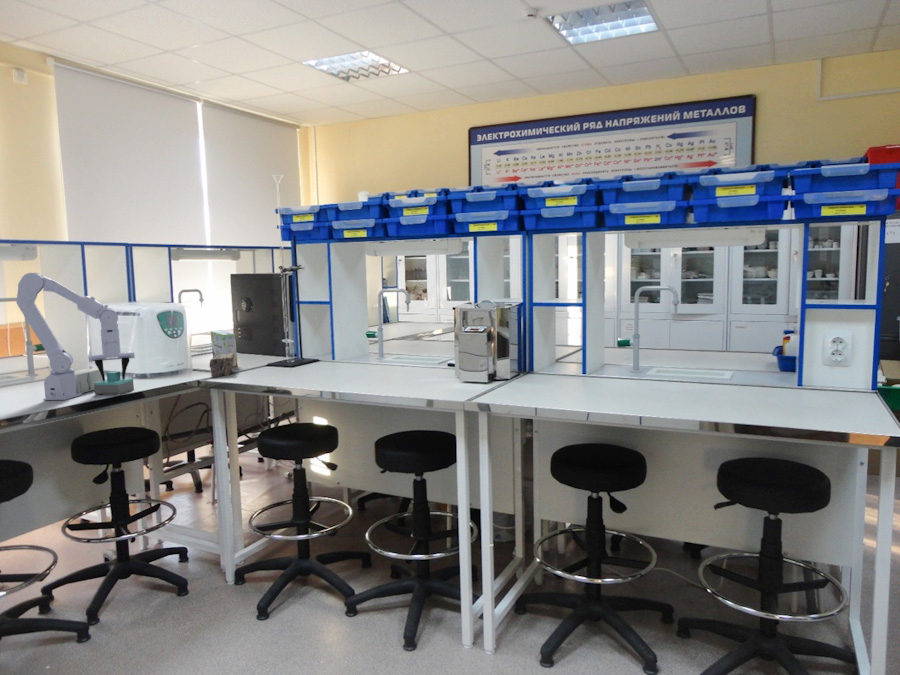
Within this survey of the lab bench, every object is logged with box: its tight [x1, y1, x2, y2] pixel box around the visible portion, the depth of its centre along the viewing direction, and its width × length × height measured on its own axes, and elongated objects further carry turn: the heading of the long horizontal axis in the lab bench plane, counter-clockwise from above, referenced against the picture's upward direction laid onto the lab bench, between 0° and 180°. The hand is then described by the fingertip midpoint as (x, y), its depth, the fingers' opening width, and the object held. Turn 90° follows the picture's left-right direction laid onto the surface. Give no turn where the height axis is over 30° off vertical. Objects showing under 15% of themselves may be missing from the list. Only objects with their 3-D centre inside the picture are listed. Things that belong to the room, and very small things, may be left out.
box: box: [94, 380, 135, 395], centre depth 229 cm, size 9×9×4 cm
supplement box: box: [74, 368, 103, 394], centre depth 232 cm, size 7×7×13 cm
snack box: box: [210, 329, 238, 368], centre depth 290 cm, size 21×6×15 cm, turn 37°
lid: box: [94, 371, 134, 385], centre depth 228 cm, size 9×9×4 cm
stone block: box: [209, 353, 234, 377], centre depth 265 cm, size 14×9×8 cm, turn 6°
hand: (113, 379), depth 228 cm, fingers open, 6 cm apart
